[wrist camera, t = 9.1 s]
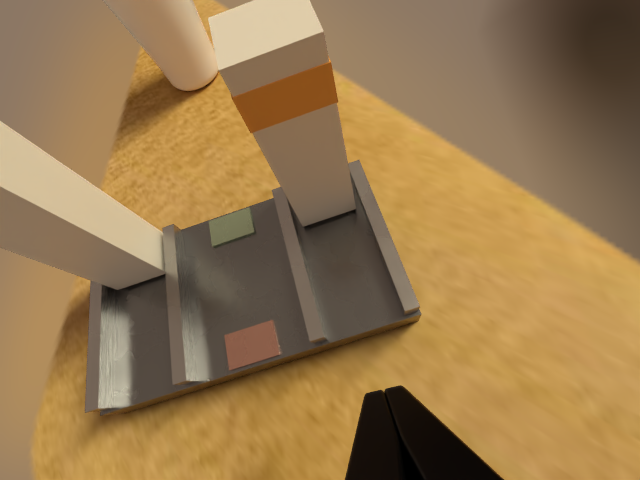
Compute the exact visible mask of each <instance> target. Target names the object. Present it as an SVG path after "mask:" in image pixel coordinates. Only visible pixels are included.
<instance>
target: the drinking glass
mask: <svg viewBox="0 0 640 480" xmlns="http://www.w3.org/2000/svg"><path fill="white" fill-rule="evenodd" d="M103 1H104V3H105V4H106V5H107V6H108V7H109V8H110V10H111V11H112V12H113V13H114V14H115V16H116V17H117V18H118V19H119V20H120V21H121V23H122V24H123V25H124V26H125V27H126V29H127V30H128V31H129V32H130V33H131V34H132V36H133V37H134V38H135V39H136V40H137V42H138V43H139V44H140V45H141V46H142V48H143V49H144V50H145V51H146V52H147V54H148V55H149V56H150V57H151V58H152V60H153V61H154V62H155V63H156V64H157V66H158V67H159V68H160V69H161V71H162V72H163V73H164V75H165V76H166V78H167V79H168V80H169V82H170V83H171V84H172V85H173V86H174V87H176V88H177V89H180V90H183V91H192V90H197V89H200V88H202V87H204V86H206V85H207V84H208V83H210V82H211V81H212V80H213V79H214V78H215V76H216V75H217V73H218V71H219V69H218V64H217V60H216V55H215V50H214V47H213V46H212V44H211V42H210V39H209V37H208V35H207V33H206V30H205V28H204V26H203V23H202V21H201V19H200V16H199V14H198V11H197V9H196V7H195V4H194V2H193V0H103Z"/></svg>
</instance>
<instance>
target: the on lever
mask: <svg viewBox="0 0 640 480" xmlns="http://www.w3.org/2000/svg"><path fill="white" fill-rule="evenodd" d="M0 248H2V249H5V250H8V251H11V252H13V253H16V254H19V255H22V256H25V257H27V258H30V259H33V260H36V261H38V262H41V263H44V264H47V265H50V266H52V267H55V268H58V269H61V270H64V271H66V272H69V273H72V274H75V275H77V276H80V277H83V278H86V279H88V280H91V281H94V282H97V283H99V284H102V285H105V286H108V287H111V288H113V289H116V290H119V289H122V288H125V287H128V286H131V285H134V284H137V283H140V282H143V281H146V280H149V279H152V278H155V277H158V276H161V275H164V274H165V259H164V244H163V232H161V231H160V230H158V229H157V228H155V227H154V226H152V225H151V224H150V223H148V222H147V221H145V220H144V219H142V218H141V217H139V216H138V215H136V214H135V213H134V212H132V211H131V210H129V209H128V208H126V207H125V206H123V205H122V204H120V203H119V202H117V201H116V200H115V199H113V198H112V197H110V196H109V195H107V194H106V193H104V192H103V191H101V190H100V189H99V188H97V187H96V186H94V185H93V184H91V183H90V182H88V181H87V180H85V179H84V178H82V177H81V176H80V175H78V174H77V173H75V172H74V171H72V170H71V169H69V168H68V167H66V166H65V165H64V164H62V163H61V162H59V161H58V160H56V159H55V158H53V157H52V156H50V155H49V154H47V153H46V152H44V151H43V150H41V149H40V148H39V147H37V146H36V145H34V144H33V143H32V142H30V141H29V140H27V139H25V138H24V137H23V136H21V135H20V134H18V133H17V132H15V131H14V130H13V129H11V128H10V127H8V126H7V125H5V124H4V123H2V122H1V121H0Z"/></svg>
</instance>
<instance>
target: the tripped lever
mask: <svg viewBox="0 0 640 480" xmlns="http://www.w3.org/2000/svg"><path fill="white" fill-rule="evenodd" d="M208 20H209V25H210V30H211V35H212V40H213V45H214V50H215V55H216V60H217V64H218V69H219V72H220V74H221V76H222V77H223V79H224V81H225V83H226V85H227V87H228V89H229V90H230V92H231V97H232V100H233V101H234V103H235V105H236V107H237V109H238V111H239V112H240V114H241V116H242V118H243V120H244V122H245V123H246V125H247V127H248V129H249V131H250V133H253V135H254V137H255V139H256V141H257V143H258V145H259V146H260V148H261V150H262V152H263V154H264V156H265V158H266V159H267V161H268V163H269V165H270V167H271V169H272V171H273V172H274V174H275V176H276V178H277V180H278V182H279V184H280V186H281V187H282V189H283V191H284V193H285V195H286V197H287V199H288V200H289V202H290V204H291V206H292V208H293V210H294V212H295V213H296V215H297V217H298V219H299V221H300V223H301V225H302V226H303V227H304V226H307V225H310V224H313V223H316V222H319V221H322V220H325V219H328V218H331V217H333V216H336V215H339V214H342V213H345V212H348V211H351V210H354V209H356V205H355V199H354V194H353V188H352V183H351V177H350V172H349V167H348V161H347V156H346V150H345V145H344V139H343V134H342V128H341V123H340V118H339V112H338V107H337V102H338V99H337V93H336V87H335V82H334V76H333V71H332V65H331V61H330V59H329V56H328V53H327V47H326V41H325V36H324V31H323V29H322V27H321V24H320V22H319V20H318V18H317V16H316V13H315V11H314V9H313V7H312V5H311V3H310V0H254V1H251V2H249V3H246V4H243V5H241V6H238V7H235V8H233V9H230V10H227V11H225V12H222V13H220V14H217V15H214V16H212V17H209V18H208Z"/></svg>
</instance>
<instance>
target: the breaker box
mask: <svg viewBox="0 0 640 480" xmlns="http://www.w3.org/2000/svg"><path fill="white" fill-rule="evenodd" d="M348 167H349V172H350V177H351V183H352V188H353V194H354V199H355V205H356V209H354V210H351V211H348V212H345V213H342V214H339V215H336V216H333V217H331V218H328V219H325V220H322V221H319V222H316V223H313V224H310V225H307V226H304V227H303V226H302V225H301V223H300V221H299V219H298V217H297V215H296V213H295V212H294V210H293V208H292V206H291V204H290V202H289V200H288V199H287V197H286V195H285V193H284V191H283V189H282V187H279V188H276V189H273V190H272V192H273V196H274V198H272V199H269V200H267V201H264V202H261V203H258V204H255V205H252V206H249V207H246V208H243V209H240V210H238V211H235V212H232V213H229V214H226V215H223V216H220V217H217V218H214V219H211V220H209V221H206V222H203V223H200V224H197V225H194V226H191V227H188V228H185V229H182V230H181V229H179V228H178V227H177V226H175V225H174V224H172V225H169V226H167V227H164V228H163V244H164V259H165V274H164V275H161V276H158V277H155V278H152V279H149V280H146V281H143V282H140V283H137V284H134V285H131V286H128V287H125V288H122V289H119V290H116V289H113V288H111V287H108V286H105V285H102V284H99V283H97V282H94V281H91V285H90V308H89V331H88V354H87V377H86V400H85V413H88V412H100V416H101V415H112V414H122V413H127V412H131V411H134V410H137V409H140V408H143V407H146V406H150V405H153V404H156V403H159V402H162V401H166V400H169V399H172V398H175V397H178V396H181V395H185V394H188V393H191V392H194V391H197V390H200V389H204V388H207V387H210V386H213V385H216V384H220V383H223V382H226V381H229V380H232V379H235V378H239V377H242V376H245V375H248V374H251V373H254V372H258V371H261V370H264V369H267V368H270V367H274V366H277V365H280V364H283V363H286V362H289V361H293V360H296V359H299V358H302V357H305V356H309V355H312V354H315V353H318V352H321V351H324V350H328V349H331V348H334V347H337V346H340V345H343V344H347V343H350V342H353V341H356V340H359V339H363V338H366V337H369V336H372V335H375V334H378V333H382V332H385V331H388V330H391V329H394V328H398V327H401V326H404V325H407V324H410V323H413V322H417V321H419V318H420V316H421V312H420V310H419V308H420V305H419V303H418V301H417V298H416V296H415V293H414V291H413V289H412V286H411V284H410V281H409V279H408V276H407V274H406V272H405V269H404V267H403V264H402V262H401V260H400V257H399V255H398V252H397V250H396V248H395V245H394V243H393V240H392V238H391V236H390V233H389V231H388V228H387V226H386V223H385V221H384V219H383V216H382V214H381V211H380V209H379V207H378V204H377V202H376V199H375V197H374V195H373V192H372V190H371V187H370V185H369V183H368V180H367V178H366V175H365V173H364V170H363V168H362V166H361V163H360V161H359V160H357V161H354V162H351V163H348Z"/></svg>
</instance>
